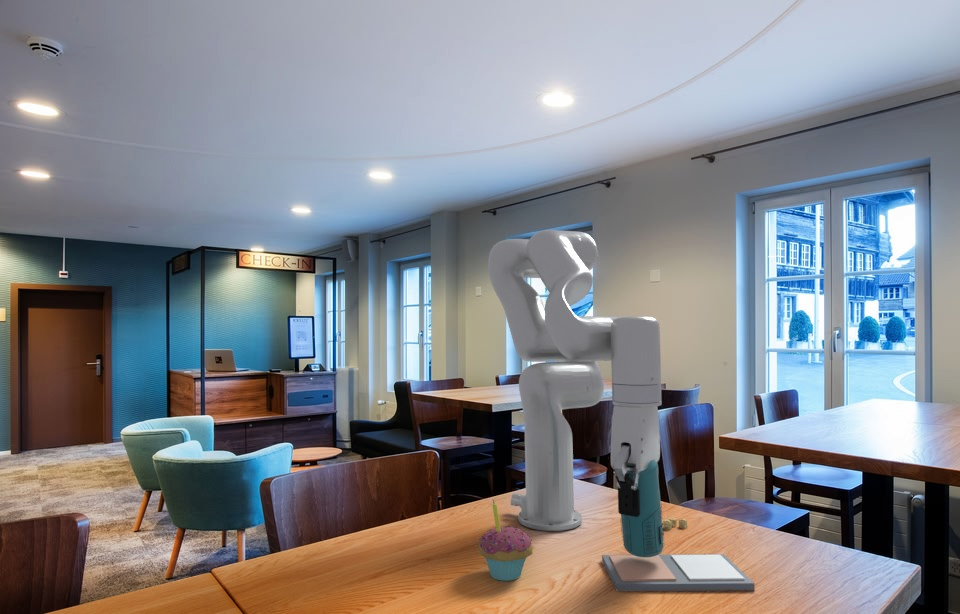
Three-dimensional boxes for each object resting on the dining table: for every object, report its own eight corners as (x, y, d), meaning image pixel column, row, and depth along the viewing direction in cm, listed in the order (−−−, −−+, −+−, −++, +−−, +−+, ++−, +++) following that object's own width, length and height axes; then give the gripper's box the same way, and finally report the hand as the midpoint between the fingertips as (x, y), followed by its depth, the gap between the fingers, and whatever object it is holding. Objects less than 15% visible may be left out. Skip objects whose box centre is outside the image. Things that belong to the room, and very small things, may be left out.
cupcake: (494, 590, 85) (493, 508, 86) (469, 570, 93) (468, 494, 93) (543, 578, 89) (542, 500, 90) (515, 559, 97) (514, 487, 97)
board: (616, 591, 85) (616, 582, 85) (602, 561, 96) (602, 553, 96) (754, 590, 84) (754, 581, 84) (724, 560, 95) (723, 552, 95)
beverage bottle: (666, 568, 89) (659, 443, 86) (622, 566, 91) (613, 444, 88) (663, 545, 95) (656, 428, 93) (622, 543, 97) (613, 429, 94)
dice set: (688, 530, 111) (688, 520, 111) (668, 535, 109) (668, 524, 109) (670, 523, 116) (669, 513, 116) (649, 526, 114) (649, 517, 114)
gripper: (633, 388, 101) (635, 490, 100) (591, 399, 86) (593, 518, 86) (676, 390, 96) (679, 497, 96) (640, 402, 82) (643, 528, 81)
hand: (639, 507), depth 91 cm, fingers open, 8 cm apart
